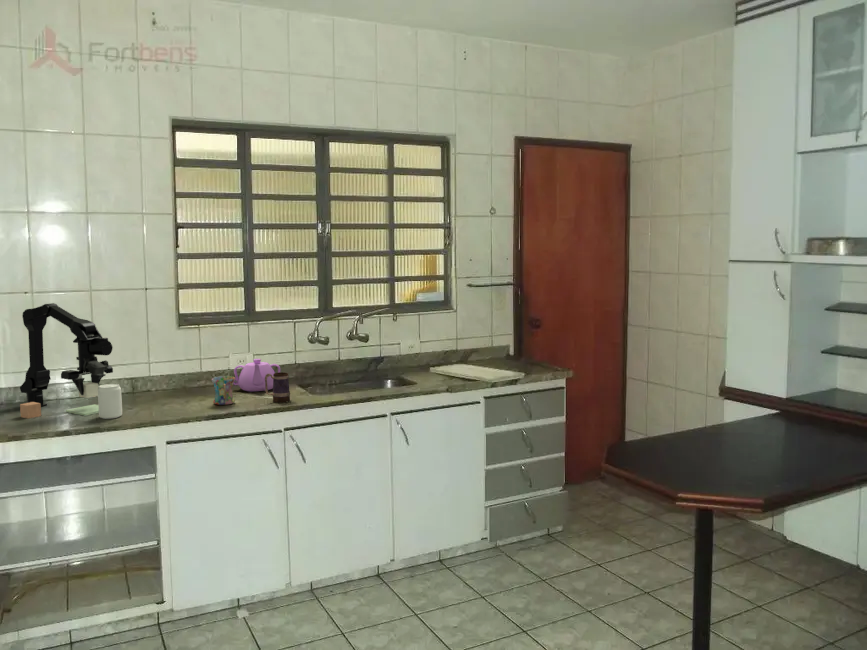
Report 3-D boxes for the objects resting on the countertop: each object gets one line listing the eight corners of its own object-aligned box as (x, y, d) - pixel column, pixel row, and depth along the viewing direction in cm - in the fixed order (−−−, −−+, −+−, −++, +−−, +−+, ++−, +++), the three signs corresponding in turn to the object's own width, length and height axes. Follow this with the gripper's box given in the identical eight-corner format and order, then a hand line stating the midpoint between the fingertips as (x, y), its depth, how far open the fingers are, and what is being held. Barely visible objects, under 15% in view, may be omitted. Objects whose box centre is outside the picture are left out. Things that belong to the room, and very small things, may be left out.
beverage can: (113, 419, 272) (111, 388, 271) (94, 418, 274) (92, 387, 273) (126, 414, 280) (125, 384, 279) (108, 413, 282) (106, 383, 280)
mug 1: (211, 402, 302) (210, 377, 300) (234, 400, 305) (234, 375, 304) (213, 408, 290) (212, 382, 289) (237, 406, 294) (236, 380, 292)
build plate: (66, 412, 285) (66, 410, 285) (94, 406, 295) (94, 404, 295) (85, 415, 279) (84, 413, 279) (113, 409, 289) (112, 407, 289)
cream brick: (86, 398, 283) (86, 385, 282) (79, 396, 285) (78, 384, 285) (98, 395, 287) (97, 383, 287) (90, 394, 290) (90, 382, 289)
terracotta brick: (20, 417, 277) (19, 404, 277) (33, 414, 282) (32, 401, 281) (28, 418, 275) (27, 405, 274) (41, 416, 279) (40, 403, 278)
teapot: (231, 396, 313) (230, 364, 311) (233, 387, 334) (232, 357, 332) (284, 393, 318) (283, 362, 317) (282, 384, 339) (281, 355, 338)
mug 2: (288, 398, 308) (287, 370, 307) (292, 402, 301) (291, 373, 300) (263, 401, 304) (262, 372, 302) (267, 404, 297) (266, 375, 296)
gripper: (76, 359, 272) (78, 400, 274) (120, 352, 288) (122, 391, 290) (58, 356, 278) (61, 397, 280) (103, 350, 294) (105, 388, 296)
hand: (88, 393), depth 286 cm, fingers closed on cream brick, 5 cm apart
